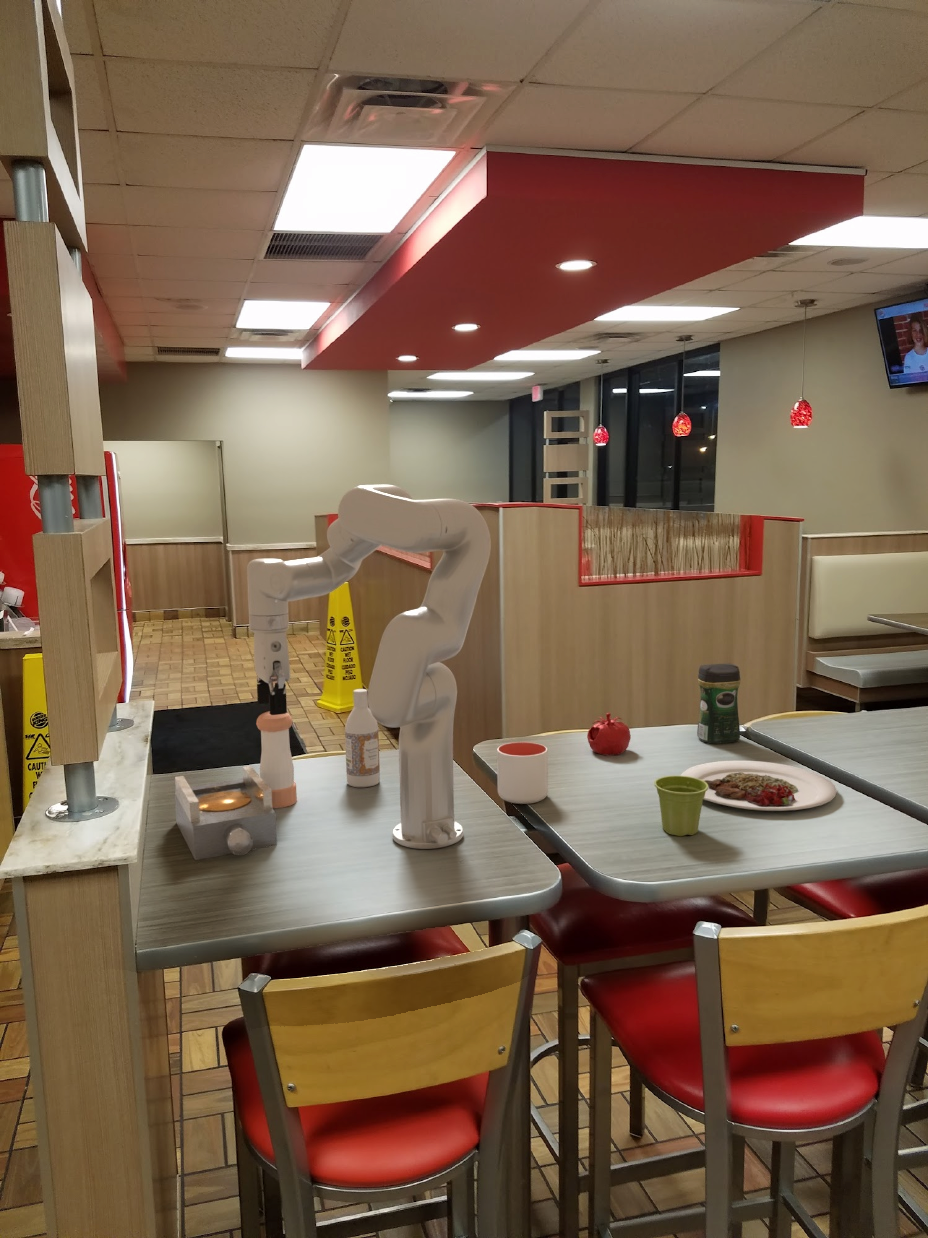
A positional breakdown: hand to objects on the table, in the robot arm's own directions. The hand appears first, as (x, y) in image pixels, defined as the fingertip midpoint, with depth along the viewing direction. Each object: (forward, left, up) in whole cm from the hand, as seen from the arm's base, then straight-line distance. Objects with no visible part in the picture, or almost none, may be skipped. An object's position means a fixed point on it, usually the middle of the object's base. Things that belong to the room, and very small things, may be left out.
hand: (271, 708), depth 182 cm
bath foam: (+3, -19, -19) cm, 27 cm away
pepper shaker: (0, 0, -19) cm, 19 cm away
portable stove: (-14, +13, -19) cm, 27 cm away
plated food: (-40, -87, -20) cm, 98 cm away
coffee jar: (-8, -105, -19) cm, 107 cm away
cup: (-21, -44, -19) cm, 53 cm away
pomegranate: (-3, -77, -19) cm, 80 cm away
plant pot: (-50, -60, -19) cm, 81 cm away
